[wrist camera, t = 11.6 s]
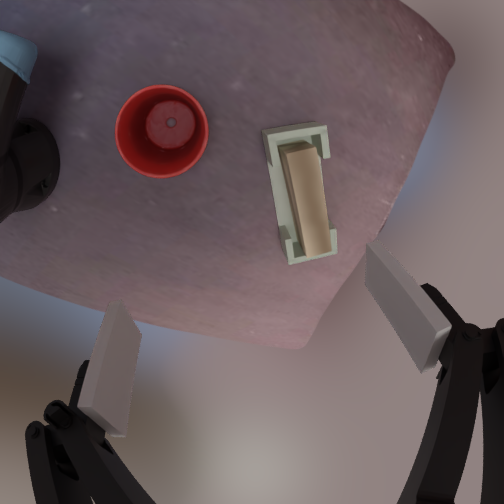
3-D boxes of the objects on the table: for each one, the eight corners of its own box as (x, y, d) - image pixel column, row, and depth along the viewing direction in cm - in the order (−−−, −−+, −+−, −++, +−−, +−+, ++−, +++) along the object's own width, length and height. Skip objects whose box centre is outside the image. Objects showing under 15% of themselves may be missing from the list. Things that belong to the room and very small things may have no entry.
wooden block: (296, 239, 49) (306, 258, 44) (276, 145, 41) (286, 153, 36) (319, 232, 49) (331, 251, 44) (302, 139, 41) (316, 147, 35)
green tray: (282, 248, 50) (288, 265, 46) (261, 130, 40) (267, 134, 35) (327, 238, 50) (337, 253, 46) (314, 121, 40) (326, 125, 35)
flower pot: (197, 75, 35) (192, 70, 26) (218, 147, 40) (219, 162, 32) (125, 101, 35) (102, 105, 27) (149, 169, 41) (133, 191, 32)
